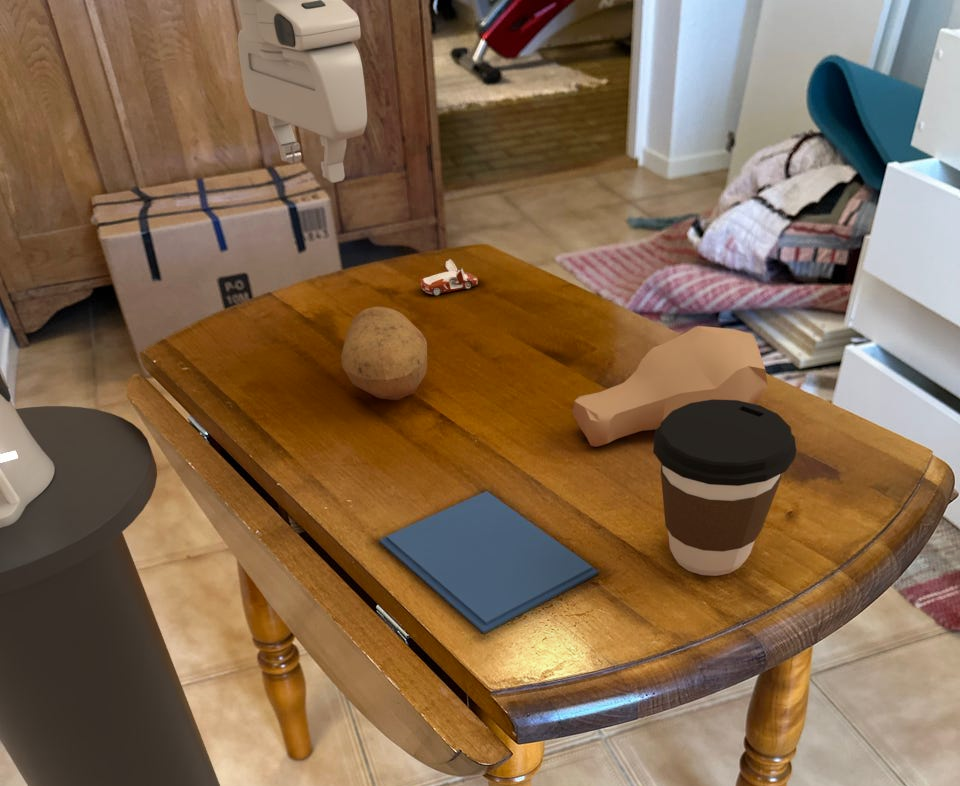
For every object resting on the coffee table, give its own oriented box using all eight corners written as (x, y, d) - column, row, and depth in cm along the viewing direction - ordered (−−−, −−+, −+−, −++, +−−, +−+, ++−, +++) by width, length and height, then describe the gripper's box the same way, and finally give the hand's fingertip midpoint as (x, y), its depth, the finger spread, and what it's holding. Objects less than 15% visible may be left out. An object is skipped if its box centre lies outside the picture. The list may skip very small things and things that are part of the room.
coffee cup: (691, 503, 85) (705, 382, 77) (799, 549, 79) (826, 423, 71) (618, 559, 80) (625, 435, 72) (728, 612, 74) (749, 484, 66)
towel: (483, 634, 74) (483, 628, 73) (379, 542, 83) (378, 537, 83) (598, 573, 78) (598, 568, 78) (486, 494, 88) (486, 488, 88)
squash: (783, 426, 95) (796, 353, 88) (604, 490, 93) (602, 421, 86) (731, 366, 101) (739, 294, 94) (562, 425, 99) (557, 355, 92)
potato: (352, 427, 99) (340, 357, 94) (342, 370, 110) (331, 303, 104) (442, 415, 100) (435, 344, 95) (424, 359, 110) (417, 292, 105)
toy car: (484, 289, 125) (482, 265, 123) (427, 300, 123) (425, 276, 121) (471, 276, 129) (470, 252, 127) (416, 286, 127) (414, 263, 125)
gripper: (212, 8, 93) (243, 157, 102) (306, 30, 80) (332, 199, 90) (268, -2, 96) (294, 145, 105) (369, 19, 83) (387, 184, 92)
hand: (312, 170), depth 97 cm, fingers open, 8 cm apart
